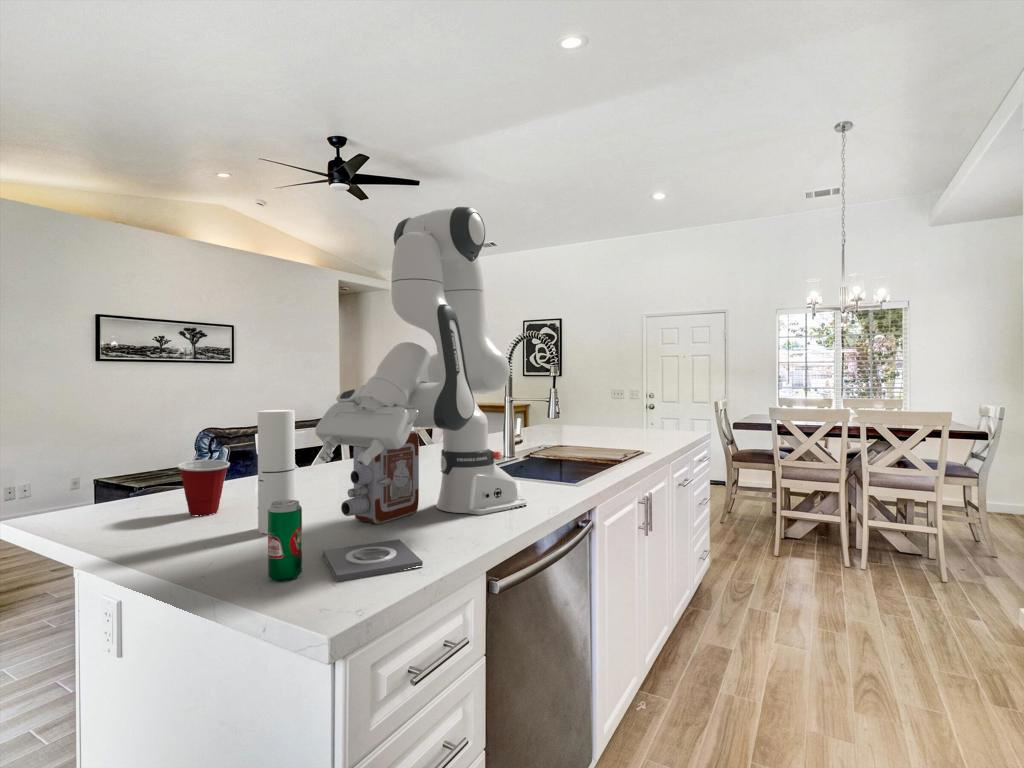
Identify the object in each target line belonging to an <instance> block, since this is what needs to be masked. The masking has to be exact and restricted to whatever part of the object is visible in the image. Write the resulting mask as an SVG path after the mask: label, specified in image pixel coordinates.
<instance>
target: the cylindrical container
mask: <svg viewBox="0 0 1024 768" xmlns="http://www.w3.org/2000/svg"><path fill="white" fill-rule="evenodd" d="M295 418H296V411H295V409H265V410H258V411H257V519H258V520H257V522H258V523H257V525H258V526H257V528H258V530H257V531H259V532H261V533H260V534H262V533H265V534H264V535H268V510H269V508H270V504H271V503H272V502H275V501H280V500H296V459H295V458H296V456H295V455H296V451H295V450H296V441H295V440H296V437H295V436H296V428H295V427H296V426H295V425H296V424H295V423H296V422H295V421H296V419H295ZM259 532H258V533H259Z"/></svg>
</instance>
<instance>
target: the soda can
mask: <svg viewBox="0 0 1024 768" xmlns="http://www.w3.org/2000/svg"><path fill="white" fill-rule="evenodd" d="M302 515H303V508H302V506H301V505H300V501H299V500H298V499H295V500H280V501H275V502H272V503H271V504H270V508H269V510H268V534H267V576H268V578H269V579H270V580H271V581H272V582H278V583H279V582H280V583H281V582H289V581H293V580H295V579H297V578H299V576H300V575H301V574H302V572H303V516H302Z"/></svg>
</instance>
